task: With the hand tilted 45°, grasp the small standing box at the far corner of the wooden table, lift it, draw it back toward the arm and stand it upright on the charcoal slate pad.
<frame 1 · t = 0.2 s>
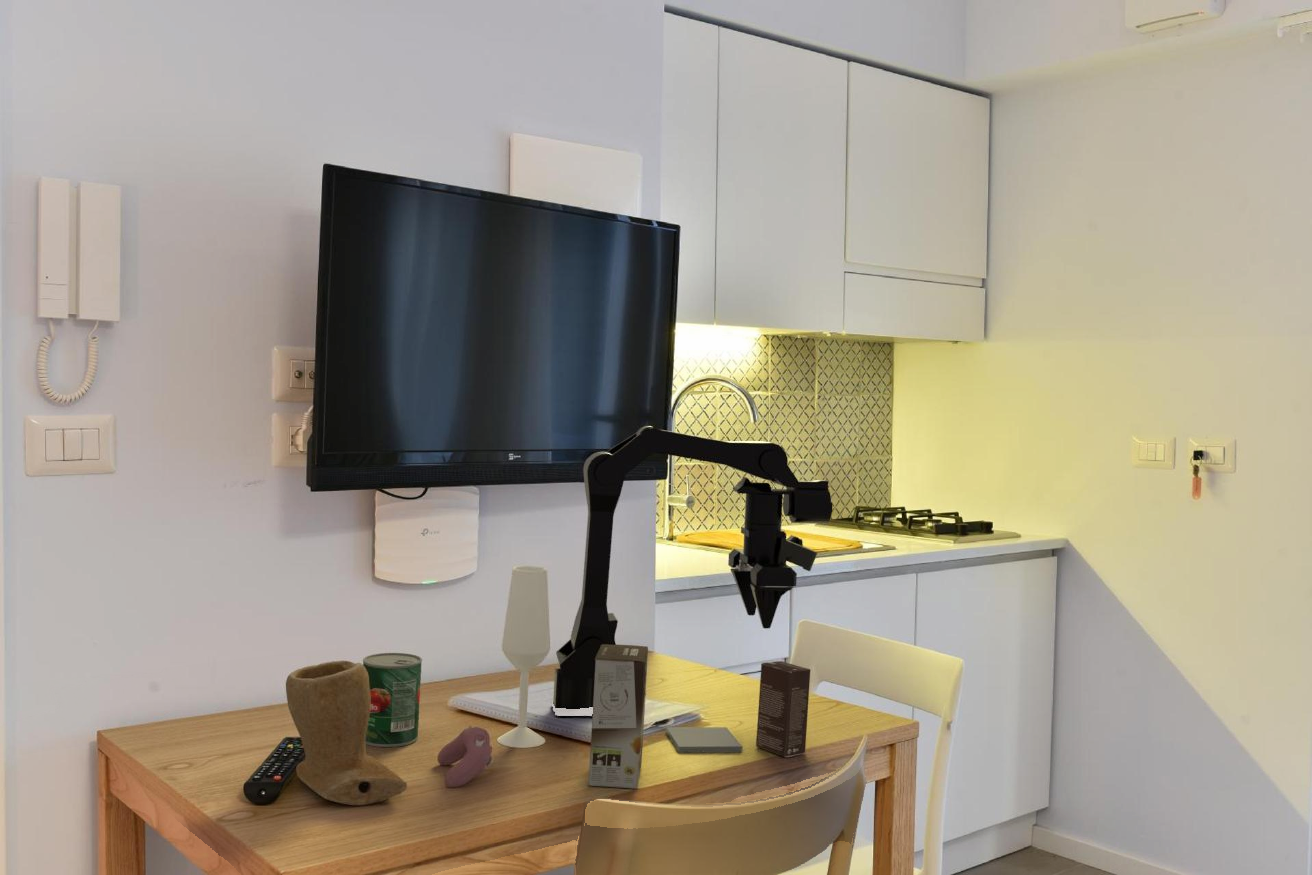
hand: (758, 621, 178), 14 cm above the table, tool pointing down, fingers open, 9 cm apart
canned tomato: (388, 739, 156), on the table
box: (780, 751, 160), on the table
brown boot: (338, 791, 135), on the table
purple curved piece: (464, 776, 143), on the table
slate pad: (703, 742, 162), on the table
champagne flute: (521, 741, 158), on the table
coffee box: (615, 777, 145), on the table
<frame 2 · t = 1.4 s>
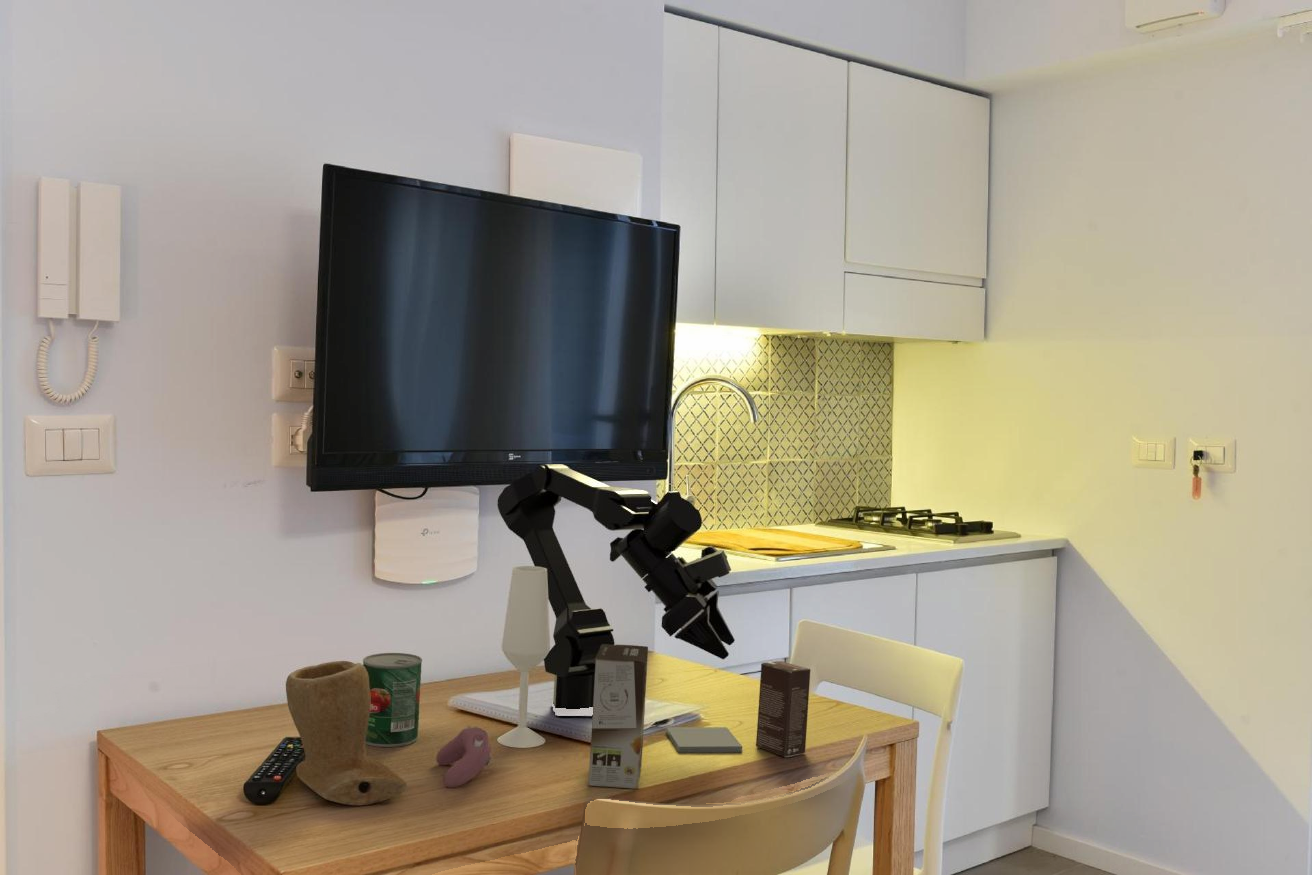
hand: (729, 649, 161), 13 cm above the table, tool tilted 45°, fingers open, 9 cm apart
nothing on the table moved.
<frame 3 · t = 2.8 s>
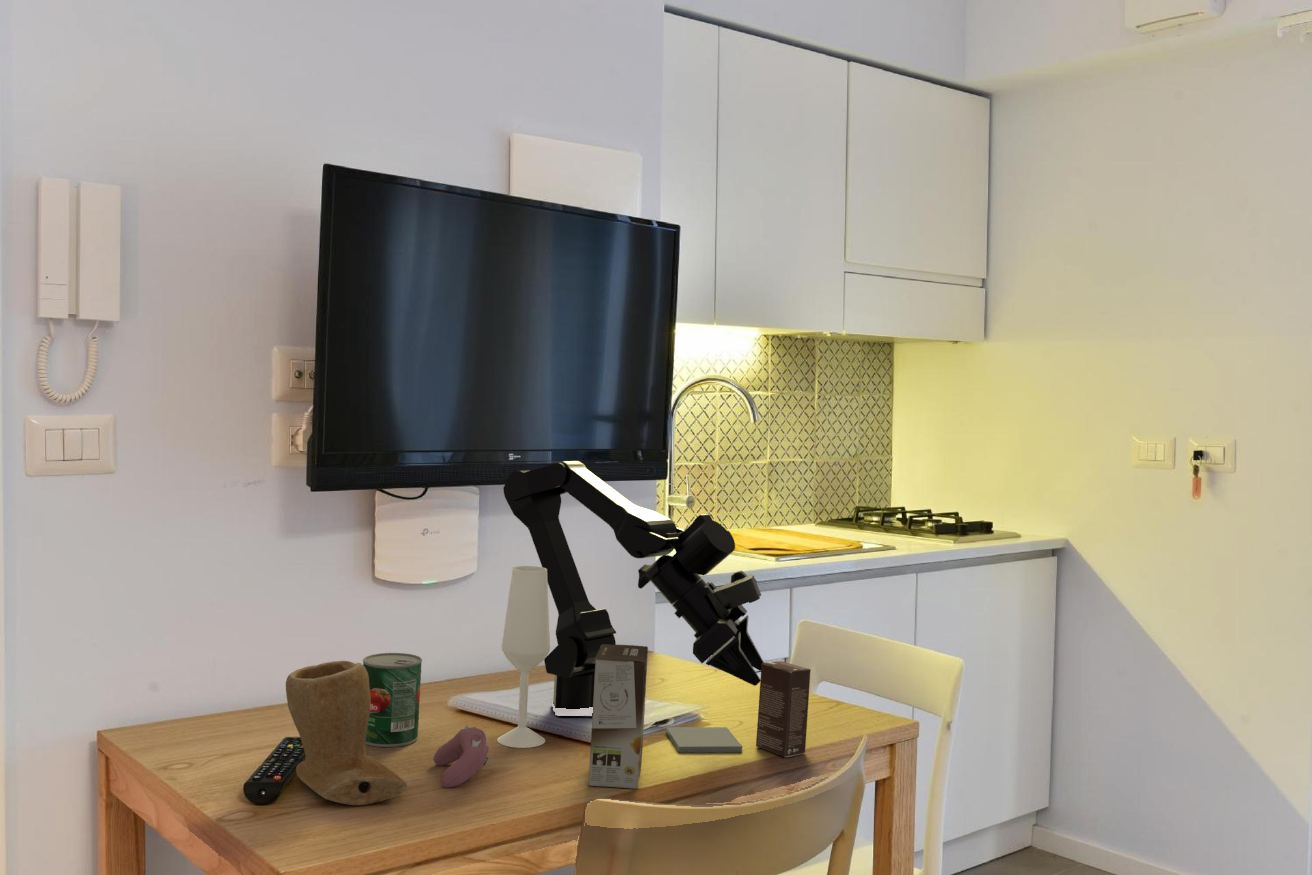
hand: (760, 675, 160), 10 cm above the table, tool tilted 45°, fingers open, 9 cm apart
nothing on the table moved.
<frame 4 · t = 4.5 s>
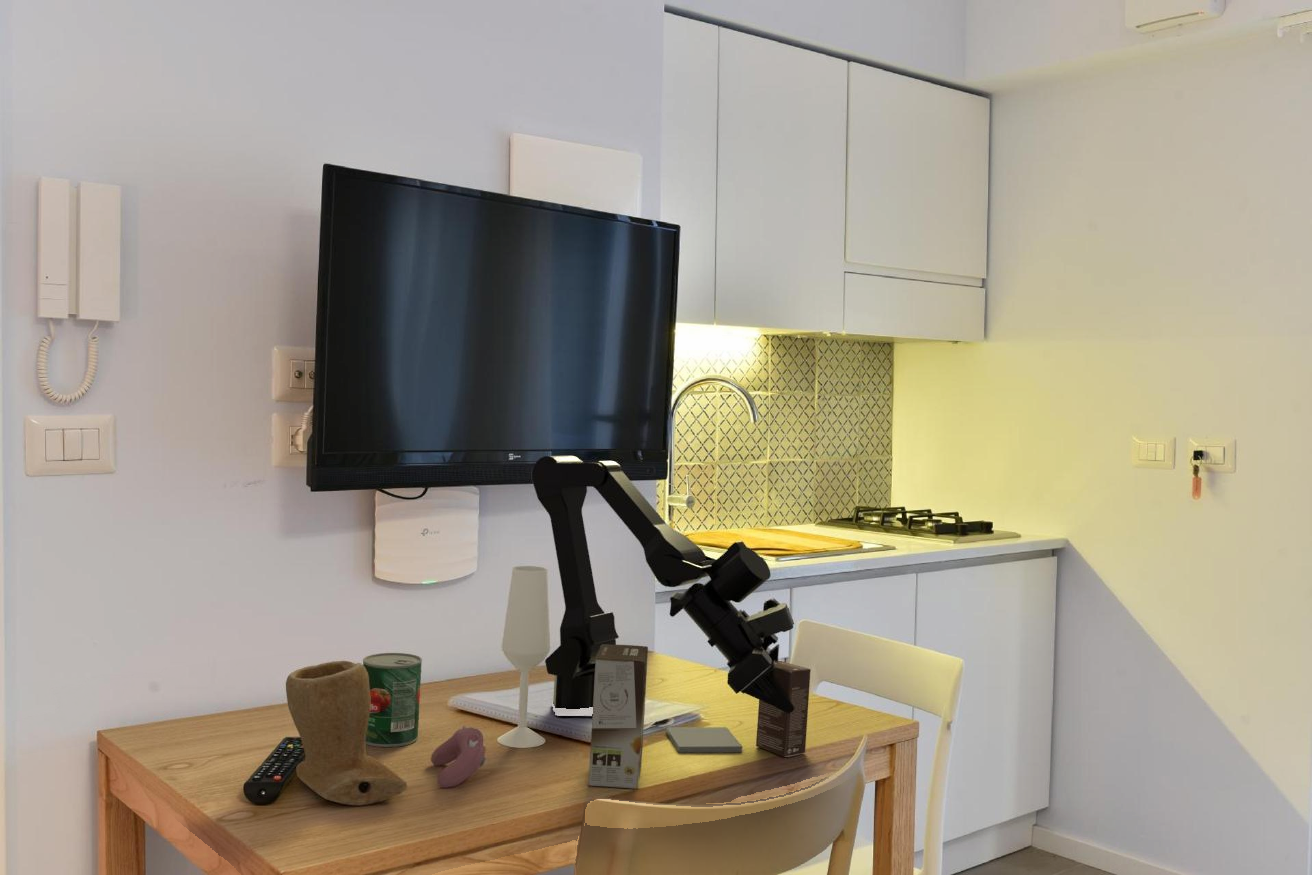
hand: (793, 704, 159), 7 cm above the table, tool tilted 45°, fingers closed on box, 7 cm apart
box: (780, 751, 160), on the table, touching gripper
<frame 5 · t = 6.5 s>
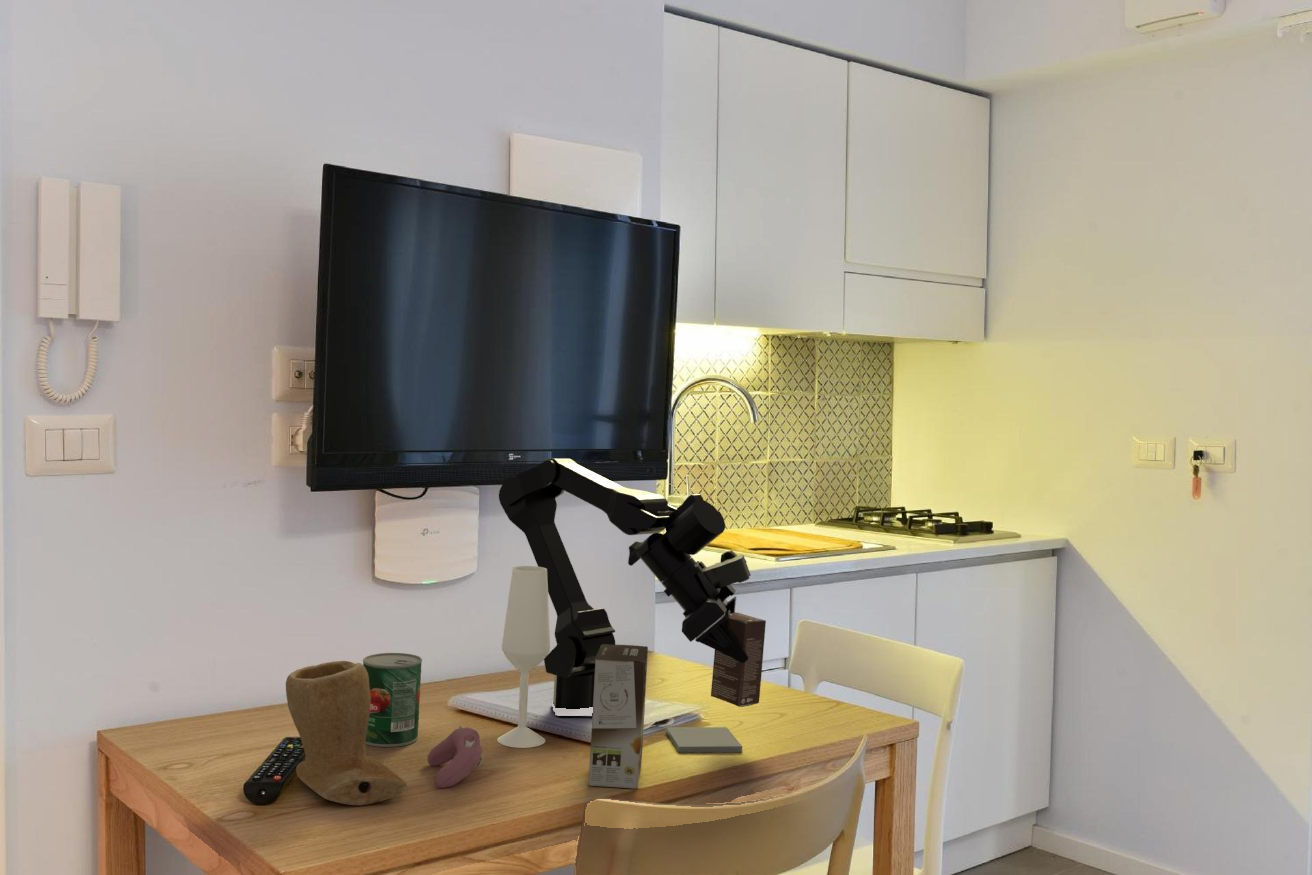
hand: (748, 655, 161), 13 cm above the table, tool tilted 45°, fingers closed on box, 7 cm apart
box: (734, 701, 161), point 6 cm above the table, touching gripper
when the fingers open (9 cm above the table, at t = 8.5 s): box drops 1 cm, resting on slate pad.
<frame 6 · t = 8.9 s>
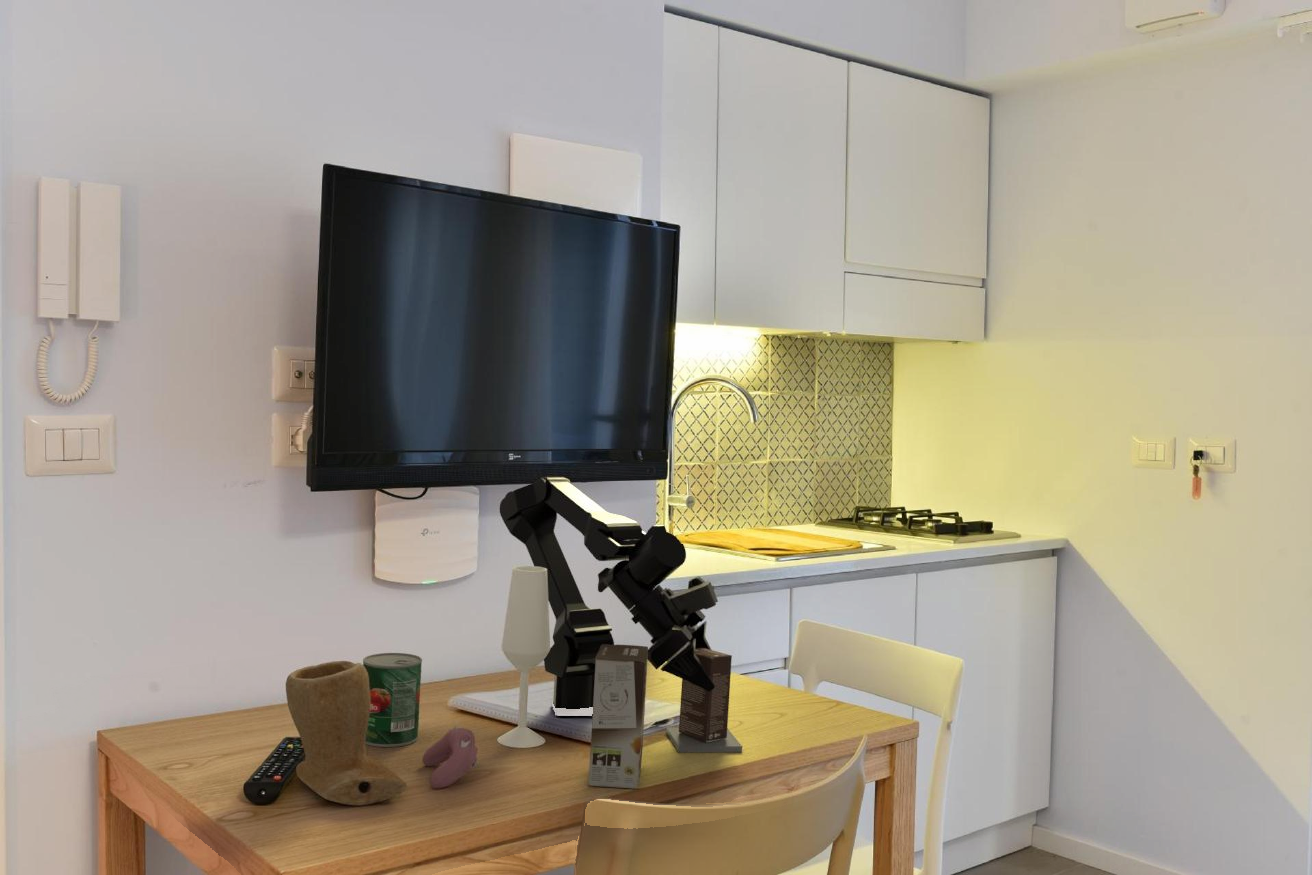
hand: (716, 681, 161), 9 cm above the table, tool tilted 45°, fingers open, 9 cm apart
box: (702, 737, 162), point 1 cm above the table, touching slate pad
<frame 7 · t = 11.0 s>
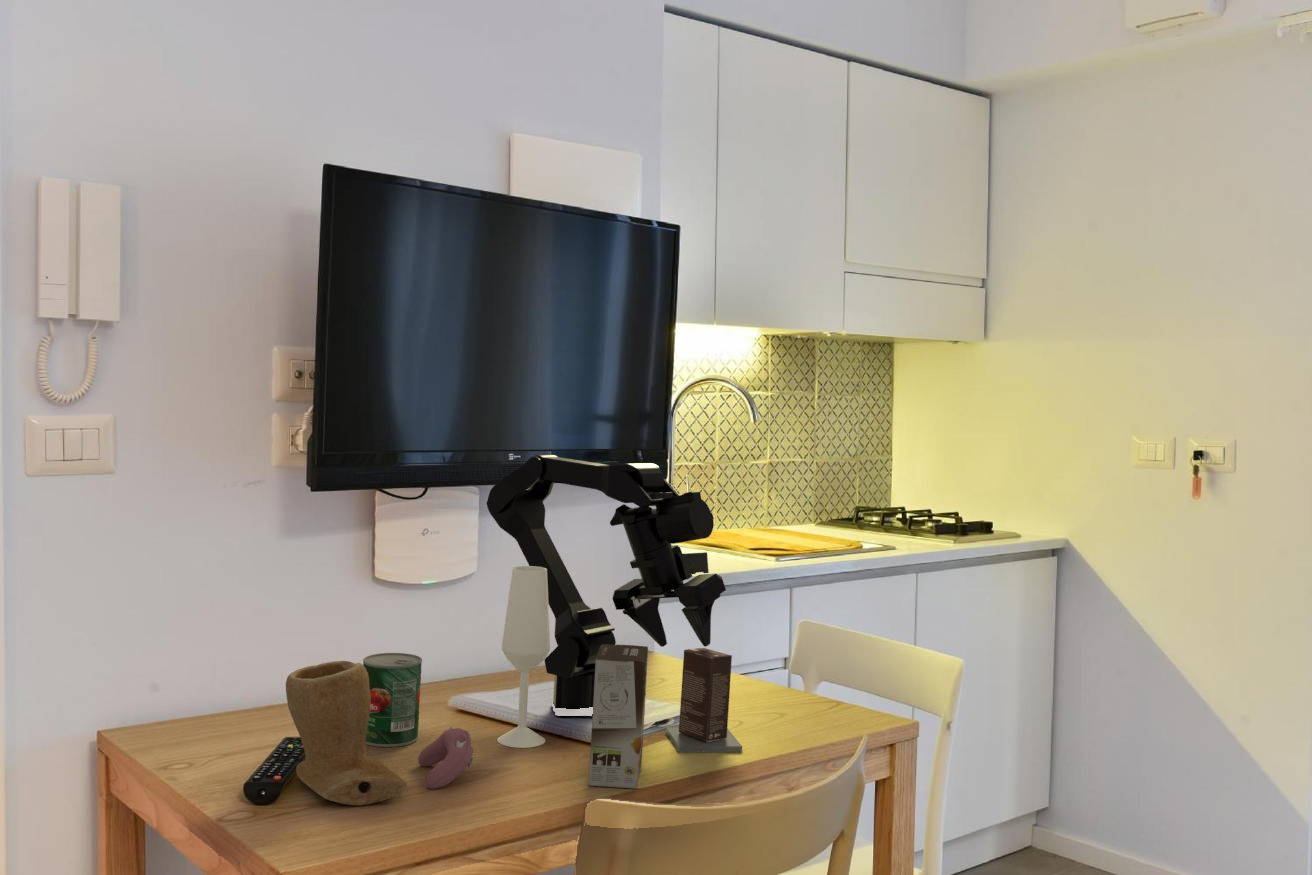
hand: (685, 645, 168), 12 cm above the table, tool tilted 20°, fingers open, 9 cm apart
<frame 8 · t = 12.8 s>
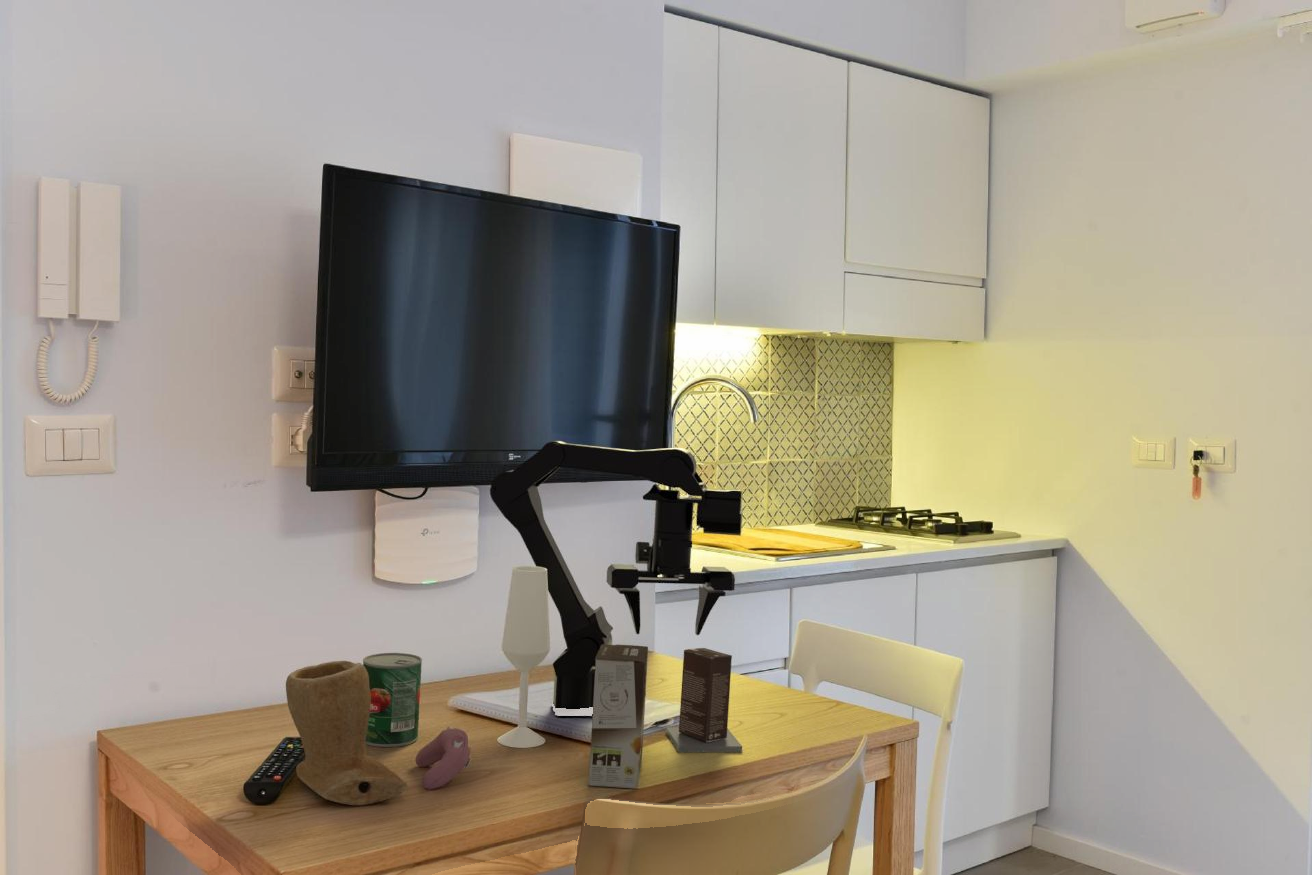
hand: (667, 634, 172), 13 cm above the table, tool pointing down, fingers open, 9 cm apart
at the end: box 0.4 cm off-centre on the slate pad, point 0.6 cm above the slate pad's base; box tilted 0°; the gripper is holding nothing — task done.
